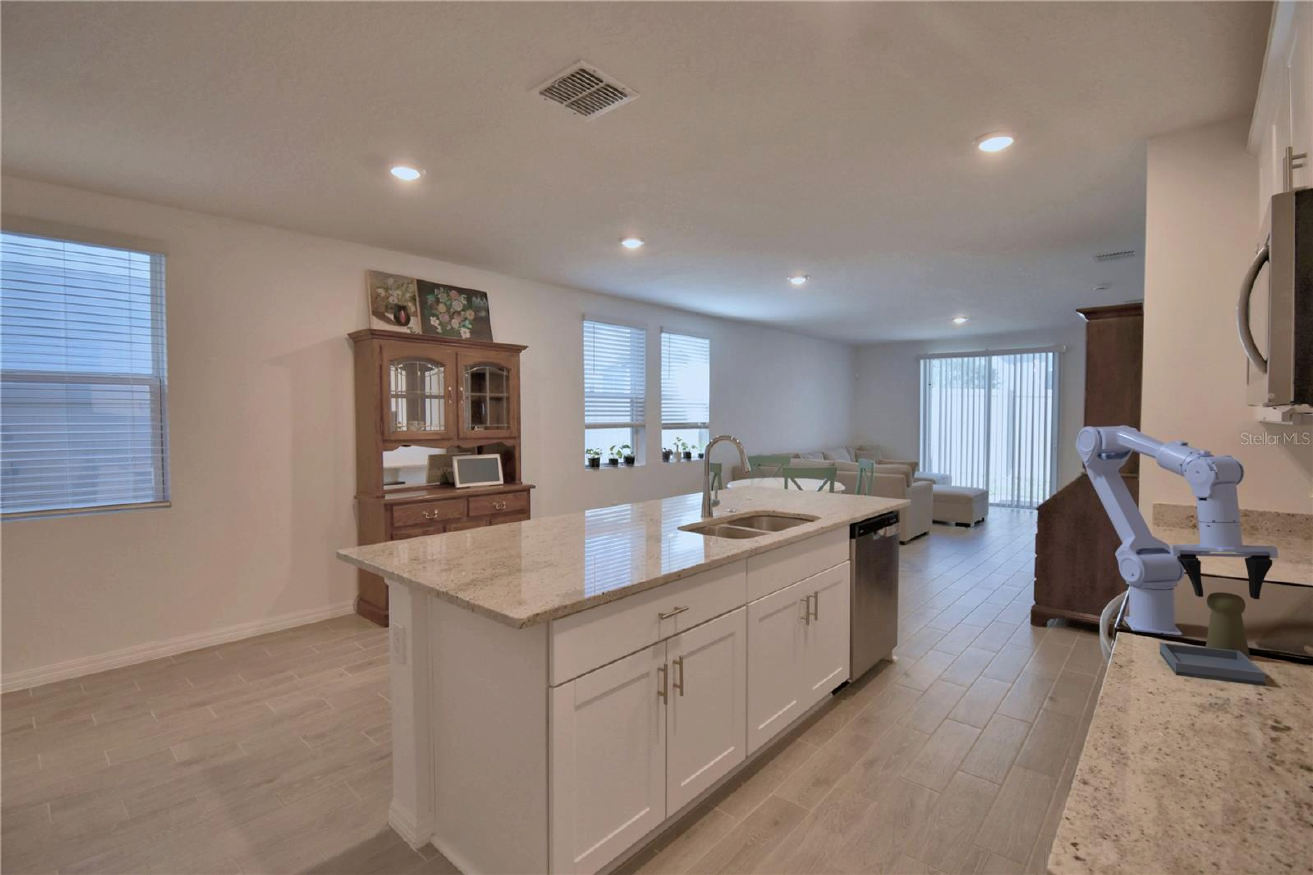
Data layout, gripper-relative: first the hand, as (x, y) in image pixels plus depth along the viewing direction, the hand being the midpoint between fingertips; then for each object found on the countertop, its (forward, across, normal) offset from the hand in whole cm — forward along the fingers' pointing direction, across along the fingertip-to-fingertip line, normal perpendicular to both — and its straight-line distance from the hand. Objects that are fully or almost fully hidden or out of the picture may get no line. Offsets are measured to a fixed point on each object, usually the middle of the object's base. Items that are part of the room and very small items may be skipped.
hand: (1226, 597), depth 112 cm
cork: (+11, 0, +1) cm, 11 cm away
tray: (+11, -5, -9) cm, 15 cm away
